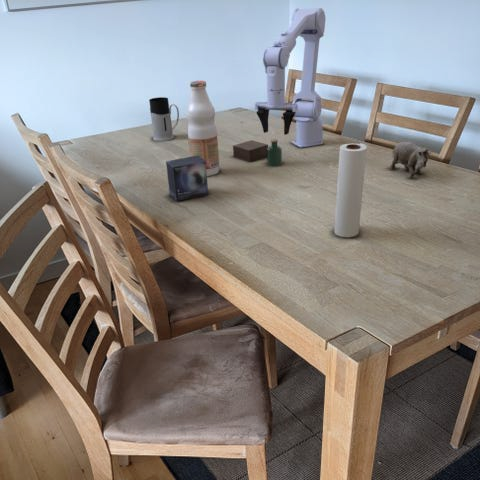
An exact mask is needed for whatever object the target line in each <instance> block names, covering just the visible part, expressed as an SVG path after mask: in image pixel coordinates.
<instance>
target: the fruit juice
mask: <svg viewBox="0 0 480 480" xmlns="http://www.w3.org/2000/svg"><path fill="white" fill-rule="evenodd" d="M189 86H190V89H191V92H190V98H189V101H188V105H187V107H186V110H185V111H186V112H185V113H186V114H185V115H186V118H187V121H188V125H187V138H188V146H189V157H192V156H197V155H198V156H199V157H201V158H202V159H204V160H205V161H206V170H207V177H210V176H215V175H217V174H218V173H219V172H220V158H219V157H220V155H219V142H218V129H217V124H216V122H215V117H216V110H215V109H216V108H215V107H214V105H213V103H212V101H211V99H210V97H209V94H208V92H207V89H206V88H207V82H206V81H205V80H193V81H190V84H189Z"/></svg>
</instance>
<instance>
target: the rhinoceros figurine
mask: <svg viewBox="0 0 480 480" xmlns="http://www.w3.org/2000/svg"><path fill="white" fill-rule="evenodd" d="M431 154H432V152H430V151H429V150H428V148H426V147H420V146H419V145H417V144H415V143H414V142H412V141H405V140H404V141H400V142H398V143H397V144H396V145H395V146H394V148H393V150H392V153H391V155H392V157H393V159H392V161H391V165H390V166H389V170H394V171H395V170H397V168H396V165H398V164H400V165H403V167H404V168H405V169H406V170H405V171H409V173H410V177H409V178H408V179H411V180H415V177H414V176H415V172H416V174H418V175H422V174H423V172H422V169H423V168H426V167H427V163H428V161H429V158H430V155H431Z"/></svg>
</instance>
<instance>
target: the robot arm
mask: <svg viewBox="0 0 480 480" xmlns="http://www.w3.org/2000/svg"><path fill="white" fill-rule="evenodd" d="M291 15H292V16H291V23H290V24H289V27H288V29H287V30H285V31H282V32H281V33H280V35H279V36H278V37H277V39H276V41H275V42H274V43H273V44H272V46H268V47H267V48H265V50H264V52H263V57H262V63H263V66H264V72H265V74H266V101H257V102H255V103H254V110H257V111H256V115H257V117H258V119H259V121H260V123H261V124H260V125H261V127H262V131H263V133H264V134H266V133H268V132H269V115H270V111H281V112H282V111H283V112H282V117H283V135H284V136H286V135H289V134H290V128H291V125H292V122H293V119H294V121H296V123H295V125H296V126H295V127H296V129H295V140H292V141H291V143H292V144H293V145H295V146H297V147H299V148H308V147H314V146H320V145H324V142H323V130H324V129H323V128H324V126H323V121H322V119H321V118H320V117H321V115H322V97H321V95H320V94H318V93H317V91H316V90H315V89H316V79H317V70H318V58H319V49H320V39H321V38H322V37H324V36H325V35H324V34H325V27H326V14H325V10H324V8H322V7H319V8H295V9H294V10H293V13H292V14H291ZM298 37H300V38H302V39H303V41H304V48H303V58H302V59H303V60H302V72H301V83H300V90H299V91H298V92H297V93H296V94H295V95H294V96H293V101H292V103H289V102H286V67H288V63H289V59H290V57H291V53H292V51H293V50H294V48H295V47H296V45H297V38H298Z"/></svg>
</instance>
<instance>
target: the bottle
mask: <svg viewBox="0 0 480 480" xmlns="http://www.w3.org/2000/svg"><path fill="white" fill-rule="evenodd" d="M278 142H279V140H278V139H276V138H273V139H271V140H270V144H271V145H270V146H269V145H268V148H267V157H266V160H267V161H266V164H267V166H269V167H278V166H281V165H282V164H283V149H282V147H281V146H280V145H278Z"/></svg>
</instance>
